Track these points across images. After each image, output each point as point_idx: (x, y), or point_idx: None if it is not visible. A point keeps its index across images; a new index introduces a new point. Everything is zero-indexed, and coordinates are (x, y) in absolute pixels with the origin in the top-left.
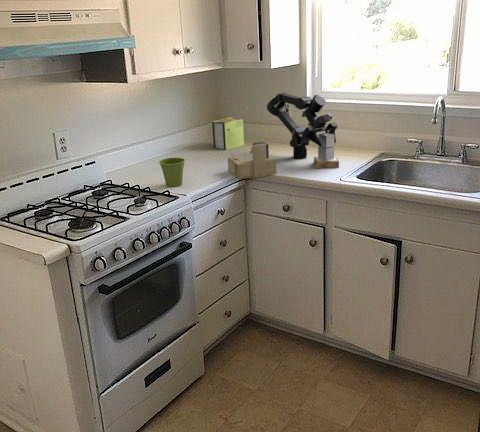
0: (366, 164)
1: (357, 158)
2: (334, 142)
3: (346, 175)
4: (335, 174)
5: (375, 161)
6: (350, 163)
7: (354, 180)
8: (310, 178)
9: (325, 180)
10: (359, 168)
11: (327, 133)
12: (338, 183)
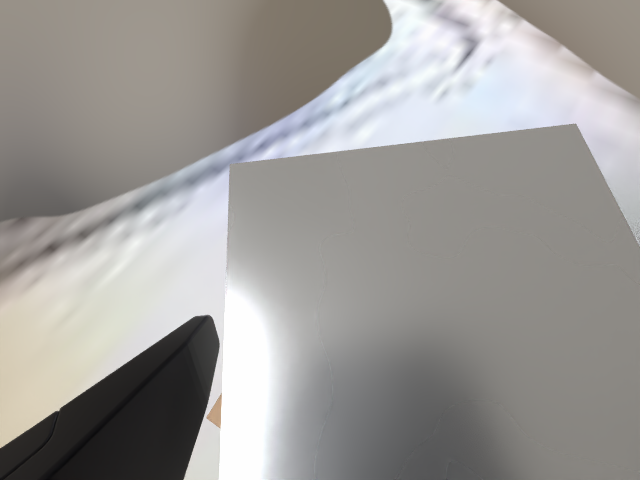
0: (133, 207)
1: (20, 388)
2: (215, 343)
3: (396, 91)
4: (442, 131)
5: (31, 233)
6: (184, 289)
7: (411, 19)
8: (635, 137)
9: (555, 72)
10: (237, 159)
11: (320, 472)
12: (510, 15)
